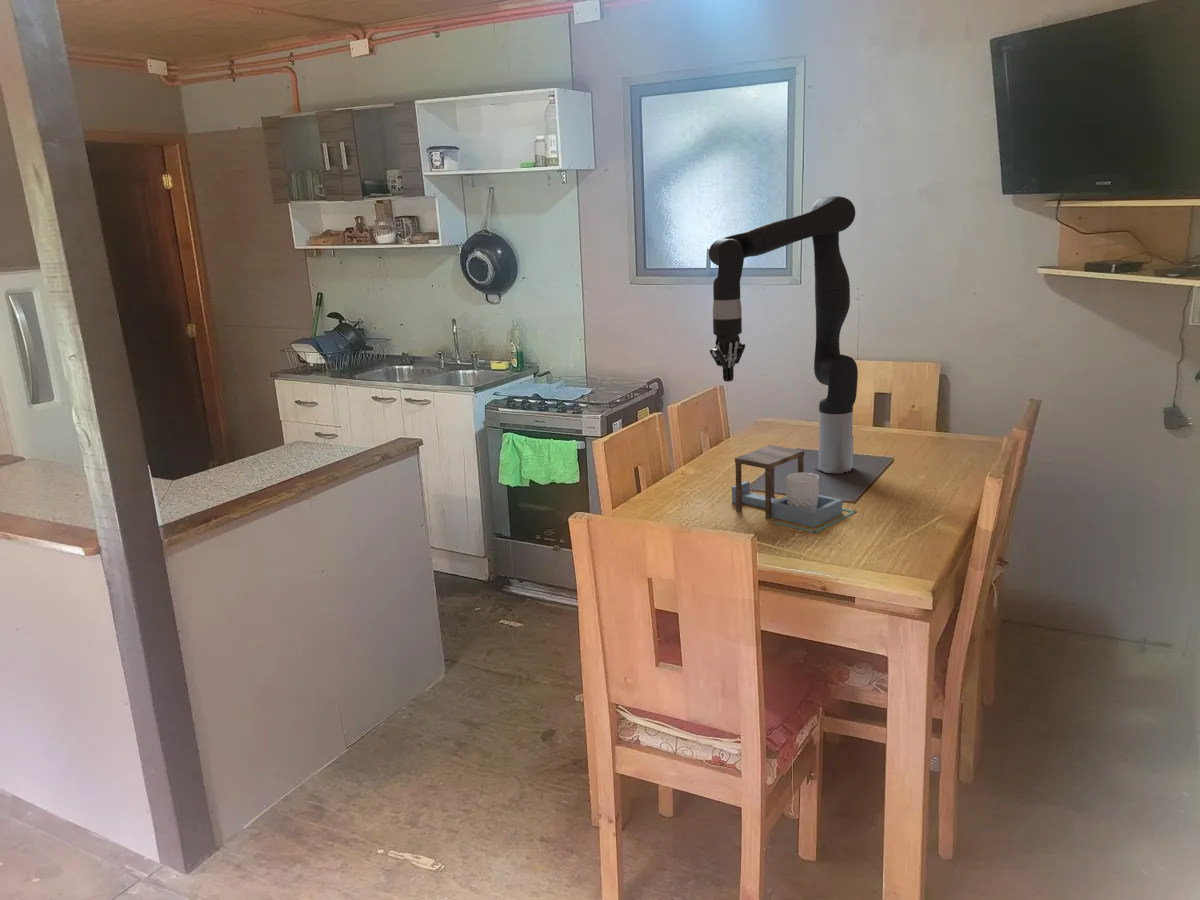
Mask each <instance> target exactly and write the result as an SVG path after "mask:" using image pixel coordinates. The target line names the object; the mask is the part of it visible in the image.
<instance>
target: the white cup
mask: <svg viewBox="0 0 1200 900" xmlns="http://www.w3.org/2000/svg"><path fill="white" fill-rule="evenodd" d="M819 484H820V475H818V474H816V473H811V472H805V471H804V472H798V471H797V472H792V473H789V474H786V476H785V487H786V488H785V490H786V492H785V493H786V496H787V505H790V506H795V507H799V508H803V509H808V510H812V511H814V510H816V509H817V503H818V495H819Z"/></svg>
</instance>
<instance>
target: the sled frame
mask: <svg viewBox="0 0 1200 900" xmlns="http://www.w3.org/2000/svg"><path fill="white" fill-rule="evenodd" d="M750 489H751V483H750V481H748V480H744V481H742V504H744V505H745V504H746V505H751V506H754V507H758V508H764V509H765V495H761V494H757V493H753V492H751V490H750ZM731 503H732V504H735V505H736V484H735V485H733V486H731ZM842 508H843V499H840V498H837V497H831V496H826V495H821V494H818V503H817V509H816V510H814V511H812V510H808V509H803V508H799V507H795V506H790V505H787V495H786V496H784V497H782V498H780V499H779V498H776V497H773V498H771V518H773V519H778V520H782V521H786V522H790V523H794V524H798V525H802V526H806V527H812V528H816V527H818V526H820V525H823V524H825V523H826V522H829V521H831V520H832V519H835V518H837V517H839V516H841V515H843V510H842Z"/></svg>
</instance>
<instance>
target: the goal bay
mask: <svg viewBox="0 0 1200 900" xmlns="http://www.w3.org/2000/svg"><path fill="white" fill-rule="evenodd" d="M843 511H844V512H848V513H846V514H845V515H842V516H840V517H838V518H837V519H835V520H832V521H830V522H829V523H826V524H825V525H823V526H821V527H818V528H817V529H815V530H814V529H809V528H805V527H800V526H797V525H793V524H788V523H785V522H780V521H775V520H774V521H773V524H776V525H780V526H784V527H786V528H787V527H788V528H793V529H796V530H800V531H805V532H808V533H812V534H817V533H819V532H821V531H823V530H825V529H826V528H829V527H831V526H833V525H835V524H836V523H839V522H840V521H842V520H844V519H847V518H848V517H851V516H852V515H854V514H857V512H858V511H856V510H853V509H848V508H843V507H842V512H843Z"/></svg>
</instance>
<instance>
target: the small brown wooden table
mask: <svg viewBox="0 0 1200 900" xmlns="http://www.w3.org/2000/svg"><path fill="white" fill-rule="evenodd" d="M804 456H805V450H802V449H796V448H792V447H785V446H778V445H774V444H770V445H767V446H764V447H762V448H758V449H756V450H753V451H751V452H747V453H745V454H742V455H738V456H736V457H735V458H734V463H735V485H736V504H735V510H736V512H737V513H741V512H743V503H742V482H743V481H742V465H745V466H751V467H755V468H760V469H764V470H765V471H764V475H765V476H764V496H765V508H764V509H765V511H764V513H765V515H764V516H765V517H764V518H765V519H768V520H770V519H772V517H771V498H775V468H776V467H778V466H781V465H784V464H786V463H788V462H790V461H794V460H796V459H797V473H798V472H805V471H804V470H805V469H804V461H805V460H804V459H805V458H804Z"/></svg>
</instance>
